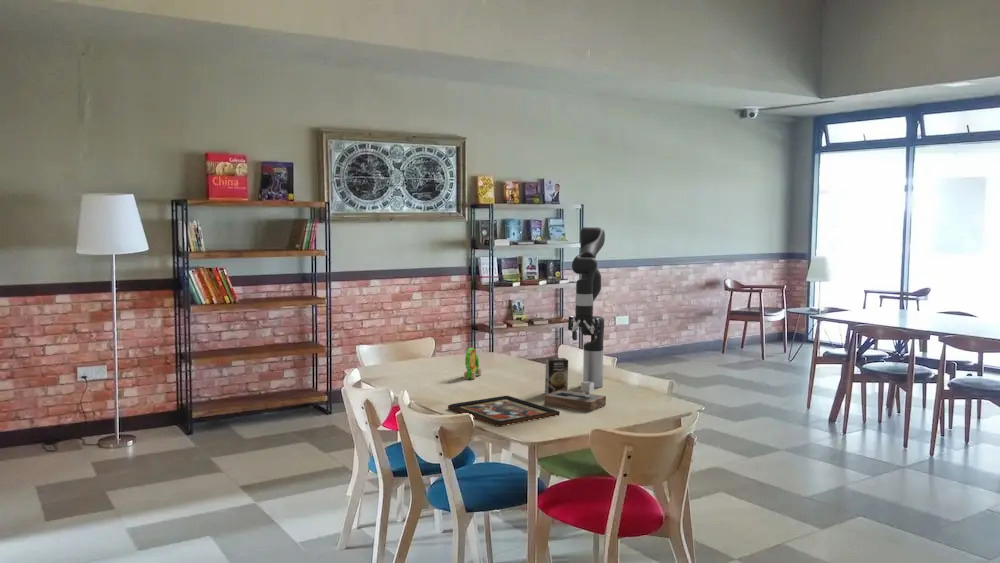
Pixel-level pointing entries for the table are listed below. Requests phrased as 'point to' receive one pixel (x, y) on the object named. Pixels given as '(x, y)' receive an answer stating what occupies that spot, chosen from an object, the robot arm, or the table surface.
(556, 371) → the coffee box
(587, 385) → the keyhole stud
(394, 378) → the table surface
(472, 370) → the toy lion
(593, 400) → the keyhole box
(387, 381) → the table surface
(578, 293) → the robot arm
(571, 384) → the table surface
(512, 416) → the framed painting
